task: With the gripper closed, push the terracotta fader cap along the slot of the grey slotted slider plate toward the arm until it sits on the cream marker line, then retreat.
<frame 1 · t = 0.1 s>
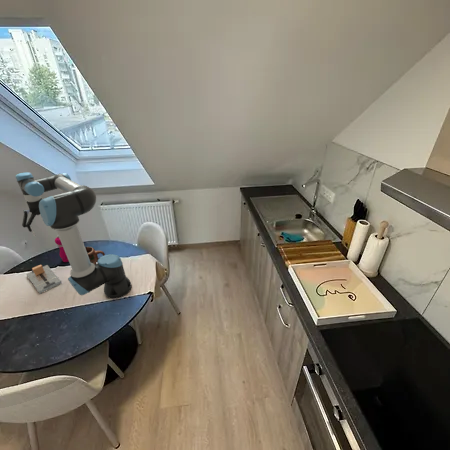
hand: (47, 231, 155), 28 cm above the table, fingers open, 13 cm apart
grey slotted slider plate: (44, 279, 157), on the table
pepper mill: (67, 259, 176), on the table
brown mug: (92, 267, 167), on the table
fader cap: (38, 270, 159), point 5 cm above the table, slide at 6.0 cm
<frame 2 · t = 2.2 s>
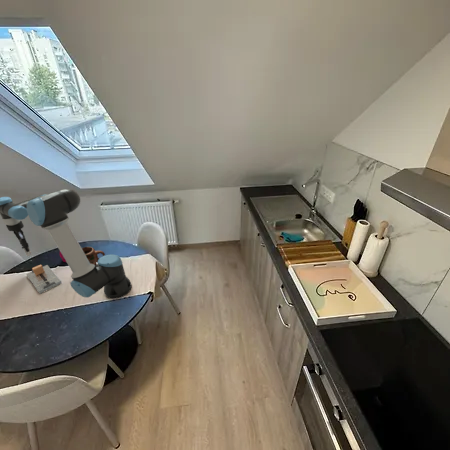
hand: (29, 254, 159), 13 cm above the table, fingers closed
nothing on the table moved.
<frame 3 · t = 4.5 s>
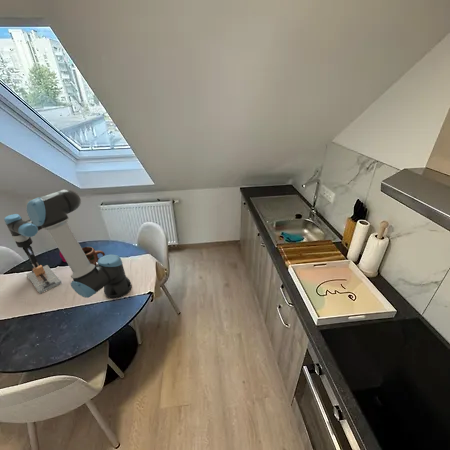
hand: (38, 269, 160), 4 cm above the table, fingers closed
fader cap: (38, 270, 158), point 5 cm above the table, slide at 5.3 cm, touching gripper
everything else where it was.
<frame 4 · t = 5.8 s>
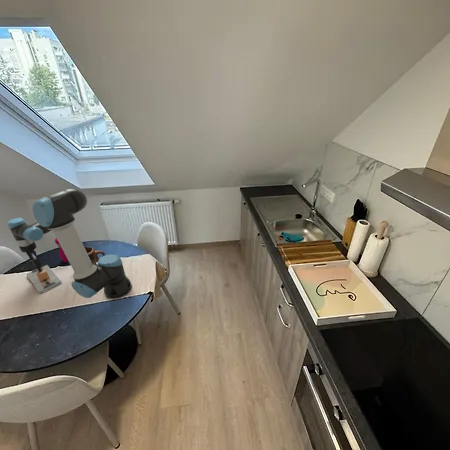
hand: (41, 274, 156), 4 cm above the table, fingers closed
fader cap: (42, 275, 154), point 5 cm above the table, slide at -2.2 cm, touching gripper
everything else where it was.
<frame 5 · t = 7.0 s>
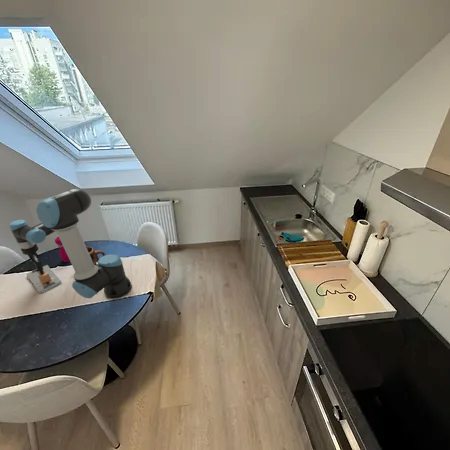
hand: (43, 277, 154), 4 cm above the table, fingers closed
fader cap: (44, 278, 152), point 5 cm above the table, slide at -5.7 cm
everything else where it was.
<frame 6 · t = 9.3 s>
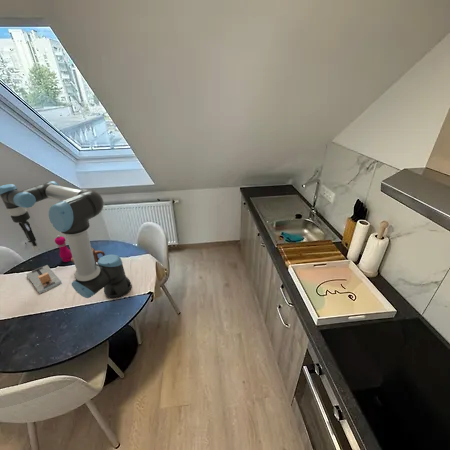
hand: (36, 249, 144), 24 cm above the table, fingers closed
nothing on the table moved.
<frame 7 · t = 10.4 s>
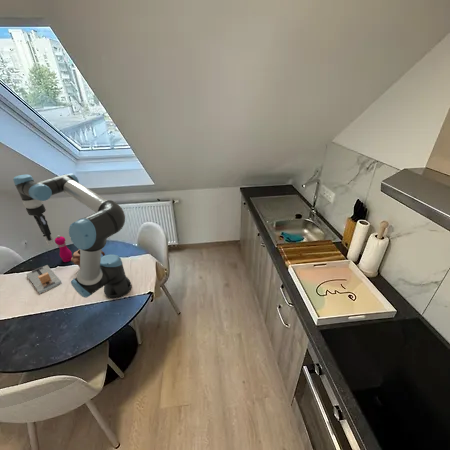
hand: (51, 244, 137), 30 cm above the table, fingers closed
nothing on the table moved.
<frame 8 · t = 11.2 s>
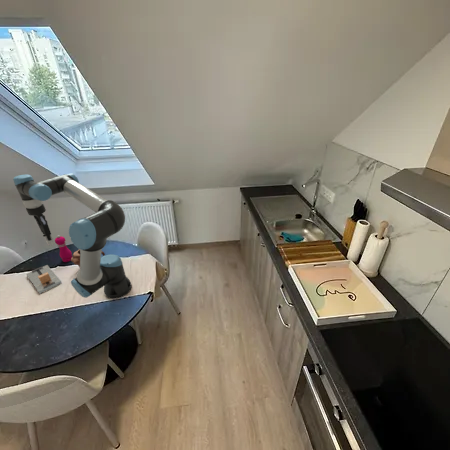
hand: (51, 244, 137), 30 cm above the table, fingers closed
nothing on the table moved.
at the end: fader cap slide at -5.7 cm; the gripper is holding nothing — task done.
